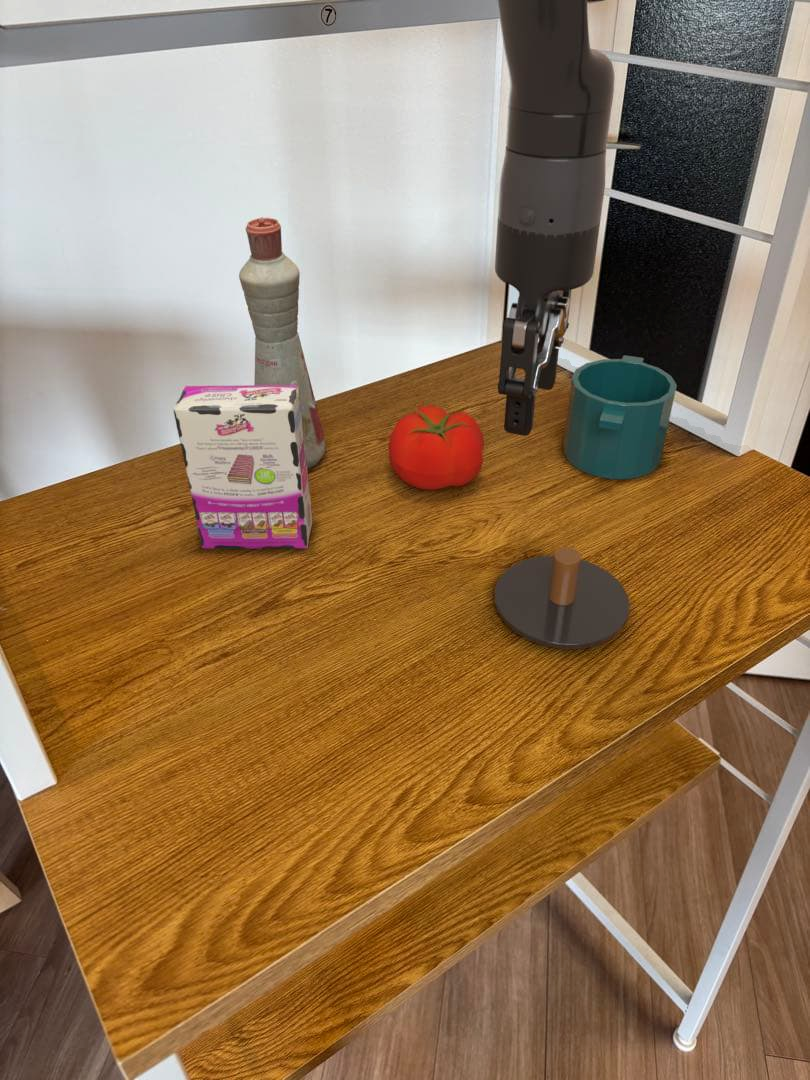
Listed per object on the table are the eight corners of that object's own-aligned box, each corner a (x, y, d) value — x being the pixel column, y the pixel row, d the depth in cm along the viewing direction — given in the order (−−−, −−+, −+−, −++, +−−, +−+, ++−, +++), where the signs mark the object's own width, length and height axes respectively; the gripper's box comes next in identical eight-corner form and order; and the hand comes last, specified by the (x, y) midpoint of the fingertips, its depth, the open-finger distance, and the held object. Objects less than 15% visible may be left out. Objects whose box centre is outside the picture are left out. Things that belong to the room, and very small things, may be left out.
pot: (668, 428, 104) (683, 357, 98) (650, 500, 91) (666, 424, 86) (577, 412, 107) (587, 344, 101) (549, 480, 95) (557, 406, 89)
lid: (636, 581, 81) (647, 530, 77) (615, 668, 71) (627, 616, 68) (512, 553, 84) (517, 503, 80) (477, 634, 75) (481, 582, 71)
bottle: (235, 460, 98) (198, 218, 81) (290, 430, 104) (266, 197, 87) (286, 486, 94) (258, 236, 77) (341, 453, 100) (326, 213, 82)
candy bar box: (313, 521, 89) (301, 382, 79) (308, 550, 85) (294, 408, 75) (209, 521, 89) (183, 382, 79) (199, 550, 85) (171, 408, 75)
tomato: (370, 478, 95) (368, 421, 91) (433, 442, 101) (434, 387, 97) (440, 515, 89) (442, 456, 85) (502, 474, 96) (507, 417, 91)
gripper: (581, 249, 55) (555, 458, 65) (616, 192, 65) (589, 379, 75) (472, 237, 57) (463, 441, 67) (523, 183, 67) (509, 367, 77)
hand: (530, 408), depth 71 cm, fingers open, 8 cm apart
